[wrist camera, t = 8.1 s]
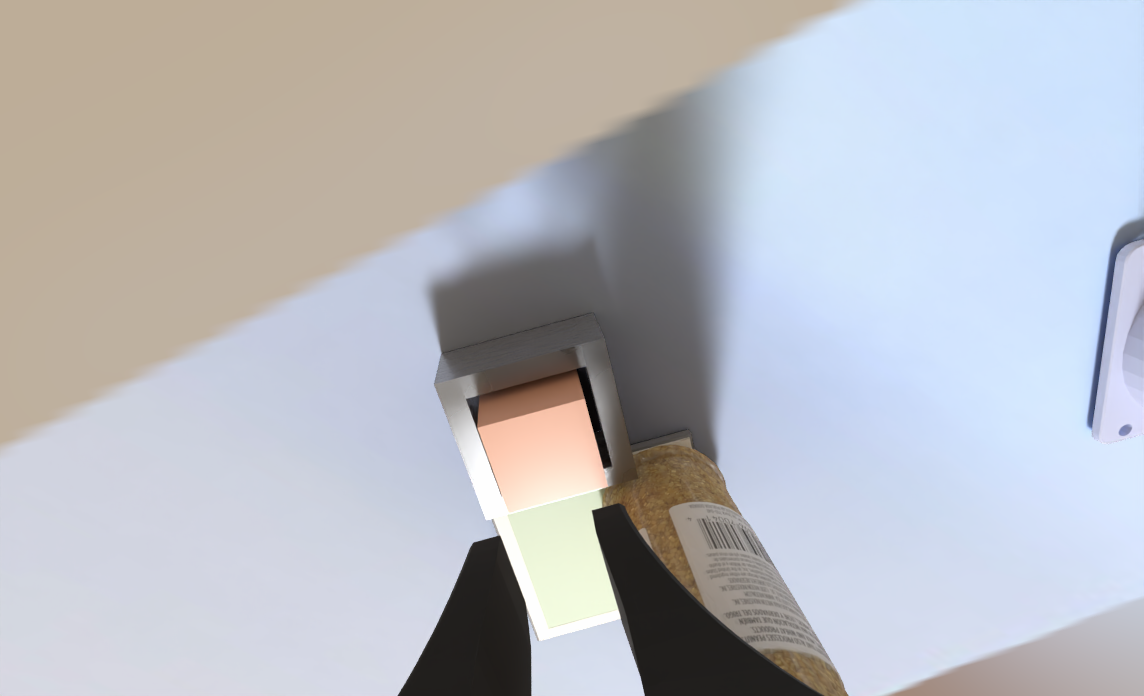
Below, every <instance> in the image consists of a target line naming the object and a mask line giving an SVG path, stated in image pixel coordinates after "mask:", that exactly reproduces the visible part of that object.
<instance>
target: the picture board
mask: <svg viewBox="0 0 1144 696" xmlns="http://www.w3.org/2000/svg"><path fill="white" fill-rule="evenodd" d="M663 445H679V446H683V447H688V448H692V449H694V445H693V440H692V434H691V432H690V430H689V429H688V430H685V431H681V432H677V433H674V434H670V435H666V436H663V437H659V438H655V439H652V440H648V441H644V442H641V443H637V444H633V445H630V446H631V450H632V454H633V455H634V454H637V453H639V452H641V451H644V450H648V449H650V448H653V447H657V446H663ZM604 492H605V488H602V489H598V490H595V491H591V492H587V493H584V494H580V495H576V496H573V497H569V498H565V499H562V500H558V501H554V502H551V503H547V504H543V505H540V506H536V507H532V508H529V509H525V510H521V511H518V512H514V513H510V514H507V515H503V516H499V517H496V518H492V522H493V524H494V527H495V530H496V532H497V535H498V536H501V538H502V541H503V544H504V546H505V549H506V552H507V554H508V557H509V559H510V562H511V565H512V567H513V570H514V573H515V575H516V578H517V581H518V583H519V586H520V589H521V591H522V594H523V597H524V599H525V602H526V609H527V614H528V617H529V619H530V622H531V624H532V627H533V630H534V632H535V635H536V638H537V640H538V641H539V640H540V641H541V640H545V639H548V638H552V637H556V636H559V635H563V634H566V633H570V632H574V631H577V630H581V629H585V628H588V627H592V626H596V625H599V624H603V623H606V622H610V621H614V620H617V619H621V617H620V613H619V610H618V607H617V603H616V600H615V596H614V593H613V589H612V586H611V583H610V579H609V576H608V572H607V569H606V565H605V562H604V558H603V555H602V552H601V548H600V545H599V541H598V538H597V534H596V530H595V525H594V520H593V515H592V510H595V509H599V508H602V502H603V494H604Z"/></svg>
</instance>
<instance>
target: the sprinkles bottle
mask: <svg viewBox="0 0 1144 696" xmlns="http://www.w3.org/2000/svg"><path fill="white" fill-rule="evenodd" d="M633 458H634V462H635V466H636V471H637V475H638V479H635V480H631V481H628V482H624V483H620V484H617V485H613V486H609V487H606V488H605V492H604V494H603V502H602V507H606V506H610V505H613V504H617V503H620V504H622V505H624V506H625V508H626V511H627V513H628V515H629V516H630V518H631V520H632V522H633V523H634V525H635V526H636V528H637V530H638V531H639V532H640V534H641V535H642V537H643V538H644V540H645V541H646V542H647V544H648V545H649V546H650V548H651V549H652V550H653V551H654V553H655V554H656V555H657V556H658V557H659V559H660V560H661V561H662V562H663V563H664V565H665V566H666V567H667V568H668V569H669V571H670V572H671V573H672V574H673V575H674V576H675V577H676V578H677V579H678V580H679V581H680V583H681V584H682V585H683V586H684V587H685V588H686V589H687V590H688V591H689V592H690V593H691V594H692V595H693V596H694V597H695V598H696V599H697V600H698V601H699V602H700V603H701V604H702V605H703V606H704V607H705V608H706V609H708V610H709V611H710V612H711V613H712V614H713V615H714V616H715V617H716V618H718V619H719V620H720V621H721V622H722V623H723V624H724V625H726V626H727V627H728V628H729V629H730V630H732V631H733V632H734V633H735V634H736V635H738V636H739V637H740V638H741V639H743V640H744V641H745V642H746V643H748V644H749V645H751V646H752V647H753V648H755V649H756V650H757V651H759V652H760V653H761V654H763V655H764V656H765V657H767V658H768V659H770V660H771V661H772V662H774V663H775V664H776V665H778V666H779V667H780V668H782V669H783V670H785V671H786V672H788V673H789V674H791V675H792V676H794V677H795V678H797V679H798V680H800V681H802V682H803V683H805V684H806V685H808V686H809V687H811V688H812V689H814V690H816V691H817V692H819V693H821V694H822V695H824V696H848V694H847V693H846V691H845V688H844V684H843V682H842V680H841V677H840V675H839V673H838V672H837V670H836V668H835V667H834V665H833V663H832V662H831V660H830V658H829V656H828V655H827V653H826V651H825V650H824V648H823V646H822V644H821V643H820V641H819V639H818V638H817V636H816V634H815V633H814V631H813V629H812V628H811V626H810V624H809V622H808V621H807V619H806V617H805V616H804V614H803V612H802V611H801V609H800V607H799V606H798V604H797V602H796V601H795V599H794V597H793V596H792V594H791V592H790V590H789V589H788V587H787V585H786V584H785V582H784V580H783V579H782V577H781V575H780V574H779V572H778V571H777V569H776V567H775V566H774V564H773V562H772V561H771V559H770V557H769V556H768V554H767V552H766V551H765V549H764V547H763V546H762V544H761V542H760V541H759V539H758V537H757V536H756V534H755V532H754V531H753V529H752V528H751V526H750V525H749V524H748V522H747V521H746V520H745V519H744V518H743V517H742V515H741V513H740V512H739V510H738V508H737V506H736V505H735V503H734V502H733V500H732V498H731V496H730V495H729V493H728V491H727V489H726V485H725V480H724V477H723V475H722V473H721V472H720V470H719V468H718V467H717V465H716V464H715V463H714V462H713V461H711V460H710V459H709V458H708V457H707V456H706V455H704V454H702V453H700V452H699V451H697V450H695V449H692V448H688V447H683V446H679V445H663V446H657V447H653V448H650V449H648V450H644V451H641V452H639V453H637V454H634V455H633Z"/></svg>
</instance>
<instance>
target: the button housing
mask: <svg viewBox="0 0 1144 696" xmlns="http://www.w3.org/2000/svg"><path fill="white" fill-rule="evenodd" d="M582 367H585V370H586V373H587V377H588V381H589V385H590V389H591V392H592V396H593V400H594V404H595V408H596V412H597V415H598V419H599V423H600V427H601V431H598V432H594V435H595V439H596V443H597V447H598V450H599V454H600V458H601V462H602V465H603V469H604V473H605V476H606V480H607V484H608V487H609V486H613V485H617V484H620V483H624V482H628V481H631V480H635V479H638V475H637V471H636V466H635V462H634V458H633V454H632V450H631V446H630V442H629V437H628V433H627V429H626V425H625V421H624V417H623V413H622V408H621V404H620V400H619V396H618V392H617V388H616V383H615V379H614V375H613V371H612V367H611V363H610V359H609V354H608V350H607V346H606V342H605V338H604V336H603V333H602V331H601V329H600V327H599V324H598V322H597V320H596V317H595V315H594V313H590V314H586V315H583V316H579V317H575V318H572V319H568V320H564V321H561V322H557V323H553V324H549V325H546V326H542V327H538V328H535V329H531V330H527V331H524V332H520V333H516V334H513V335H509V336H505V337H501V338H498V339H494V340H490V341H487V342H483V343H479V344H476V345H472V346H468V347H465V348H461V349H457V350H453V351H450V352H446V353H442V354H441V357H440V361H439V366H438V370H437V374H436V379H435V383H434V385H435V388H436V391H437V393H438V396H439V398H440V401H441V404H442V406H443V409H444V411H445V414H446V417H447V419H448V422H449V424H450V427H451V430H452V432H453V435H454V437H455V440H456V443H457V445H458V448H459V450H460V453H461V456H462V458H463V461H464V463H465V466H466V469H467V471H468V474H469V476H470V479H471V482H472V484H473V487H474V489H475V492H476V495H477V497H478V500H479V502H480V505H481V508H482V510H483V513H484V515H485V518H486V520H489V519H492V518H496V517H499V516H503V515H507V514H508V511H507V508H506V506H505V503H504V500H503V497H502V495H501V492H500V489H499V486H498V484H497V481H496V478H495V475H494V473H493V470H492V467H491V464H490V462H489V459H488V456H487V453H486V451H485V448H484V445H483V442H482V439H481V437H480V434H479V431H478V428H477V425H478V411H479V397H480V396H479V395H482V394H486V393H489V392H493V391H497V390H501V389H504V388H508V387H512V386H515V385H519V384H523V383H526V382H530V381H534V380H537V379H541V378H545V377H548V376H552V375H556V374H559V373H563V372H567V371H570V370H574V369H578V368H582ZM605 488H606V487H605ZM601 489H602V488H601ZM597 490H598V489H597ZM594 491H595V490H594ZM590 492H591V491H590ZM586 493H587V492H586ZM583 494H584V493H583ZM579 495H580V494H579ZM575 496H576V495H575ZM572 497H573V496H572ZM568 498H569V497H568ZM564 499H565V498H564ZM561 500H562V499H561ZM557 501H558V500H557ZM553 502H554V501H553ZM550 503H551V502H550ZM546 504H547V503H546ZM542 505H543V504H542ZM539 506H540V505H539ZM535 507H536V506H535ZM531 508H532V507H531ZM528 509H529V508H528ZM524 510H525V509H524ZM520 511H521V510H520ZM517 512H518V511H517ZM513 513H514V512H513ZM509 514H510V513H509Z"/></svg>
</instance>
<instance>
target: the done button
mask: <svg viewBox="0 0 1144 696" xmlns="http://www.w3.org/2000/svg"><path fill="white" fill-rule="evenodd" d="M477 428H478V431H479V434H480V437H481V439H482V442H483V445H484V448H485V451H486V453H487V456H488V459H489V462H490V464H491V467H492V470H493V473H494V475H495V478H496V481H497V484H498V486H499V489H500V492H501V495H502V497H503V500H504V503H505V506H506V508H507V511H508V514H509V513H513V512H517V511H520V510H524V509H528V508H531V507H535V506H539V505H542V504H546V503H550V502H553V501H557V500H561V499H564V498H568V497H572V496H575V495H579V494H583V493H586V492H590V491H594V490H597V489H601V488H605V487H608V484H607V480H606V476H605V473H604V469H603V465H602V462H601V458H600V454H599V450H598V447H597V443H596V439H595V435H594V432H593V428H592V424H591V421H590V417H589V413H588V409H587V406H586V402H585V398H584V395H583V391H582V388H581V384H580V381H579V377H578V373H577V370H576V369H574V370H570V371H567V372H563V373H559V374H556V375H552V376H548V377H545V378H541V379H537V380H534V381H530V382H526V383H523V384H519V385H515V386H512V387H508V388H504V389H501V390H497V391H493V392H489V393H486V394H482V395H480V397H479V411H478V425H477Z"/></svg>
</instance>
